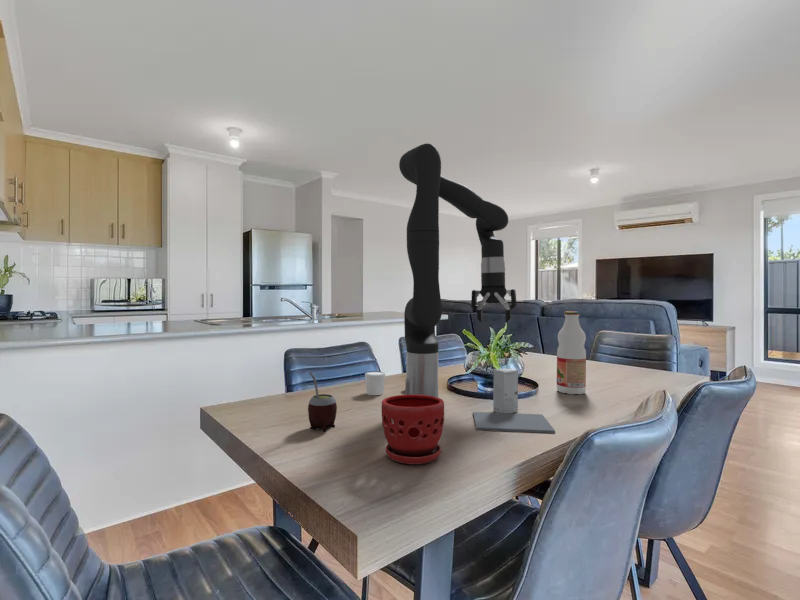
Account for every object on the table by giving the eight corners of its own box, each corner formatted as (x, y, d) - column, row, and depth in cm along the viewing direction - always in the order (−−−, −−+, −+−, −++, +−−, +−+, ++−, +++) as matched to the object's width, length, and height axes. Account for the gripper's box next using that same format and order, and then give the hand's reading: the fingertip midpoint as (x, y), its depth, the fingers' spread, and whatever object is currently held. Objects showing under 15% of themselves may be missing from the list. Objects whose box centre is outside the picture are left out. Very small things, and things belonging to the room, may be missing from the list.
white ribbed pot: (389, 393, 145) (389, 372, 145) (377, 397, 139) (377, 375, 139) (372, 390, 149) (372, 370, 149) (360, 394, 143) (360, 373, 143)
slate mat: (476, 429, 107) (476, 427, 107) (473, 414, 121) (473, 411, 121) (554, 433, 105) (554, 430, 105) (542, 416, 119) (542, 414, 119)
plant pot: (456, 455, 90) (456, 398, 90) (416, 475, 80) (416, 411, 80) (409, 440, 99) (409, 389, 99) (368, 456, 89) (368, 399, 89)
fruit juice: (580, 396, 142) (581, 312, 142) (552, 392, 148) (553, 311, 148) (589, 391, 149) (590, 311, 149) (562, 387, 155) (563, 310, 155)
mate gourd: (333, 422, 112) (333, 365, 112) (340, 431, 105) (340, 370, 105) (304, 425, 110) (304, 367, 109) (309, 435, 102) (309, 372, 102)
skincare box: (503, 415, 120) (504, 372, 120) (492, 411, 124) (492, 369, 124) (518, 411, 124) (519, 369, 123) (507, 408, 127) (507, 367, 127)
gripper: (468, 272, 138) (469, 322, 138) (513, 270, 132) (514, 323, 132) (474, 272, 144) (475, 320, 145) (517, 270, 138) (518, 320, 139)
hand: (494, 321), depth 139 cm, fingers open, 8 cm apart
